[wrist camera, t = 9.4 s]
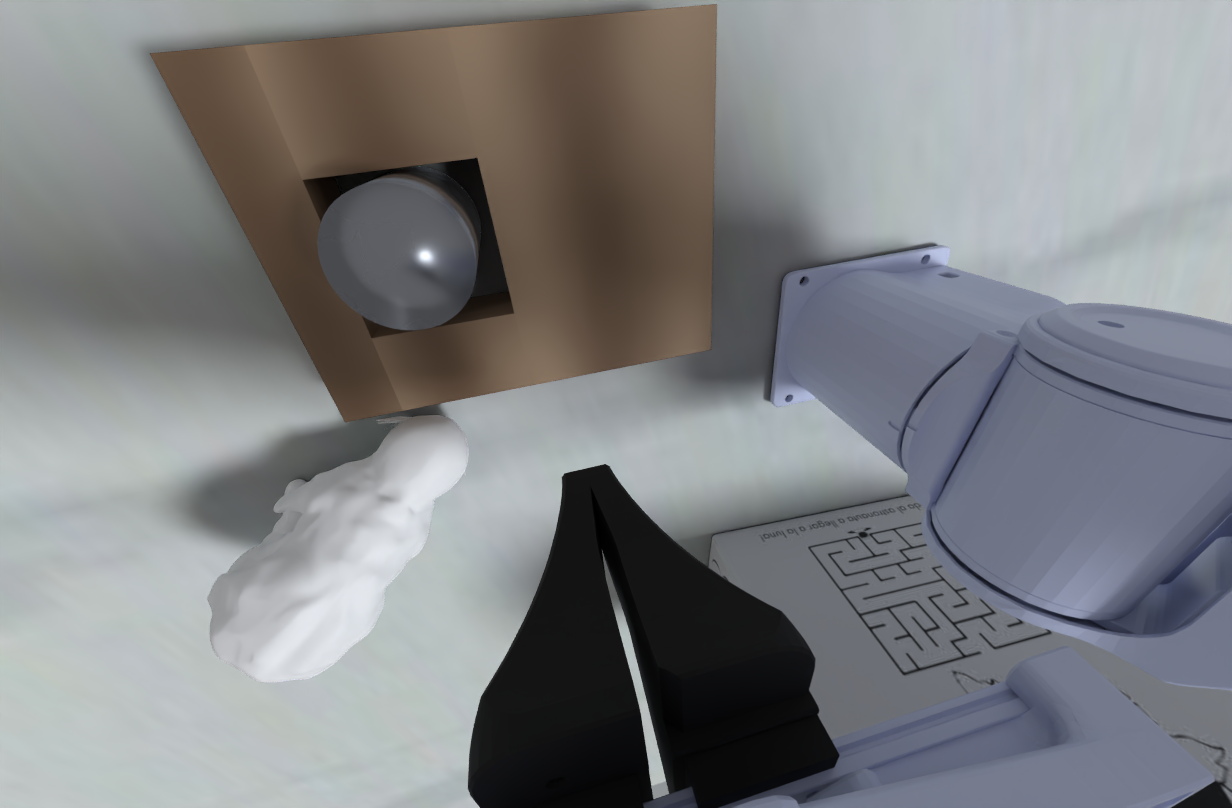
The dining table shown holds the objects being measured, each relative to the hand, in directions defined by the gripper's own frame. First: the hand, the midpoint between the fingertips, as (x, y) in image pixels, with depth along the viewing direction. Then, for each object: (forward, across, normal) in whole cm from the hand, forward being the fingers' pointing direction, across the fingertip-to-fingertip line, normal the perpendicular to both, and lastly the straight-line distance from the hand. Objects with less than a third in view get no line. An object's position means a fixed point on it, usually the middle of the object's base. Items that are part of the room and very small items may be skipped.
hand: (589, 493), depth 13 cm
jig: (+10, +1, -6) cm, 12 cm away
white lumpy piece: (+11, +10, +5) cm, 15 cm away
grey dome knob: (+10, +4, -6) cm, 13 cm away
